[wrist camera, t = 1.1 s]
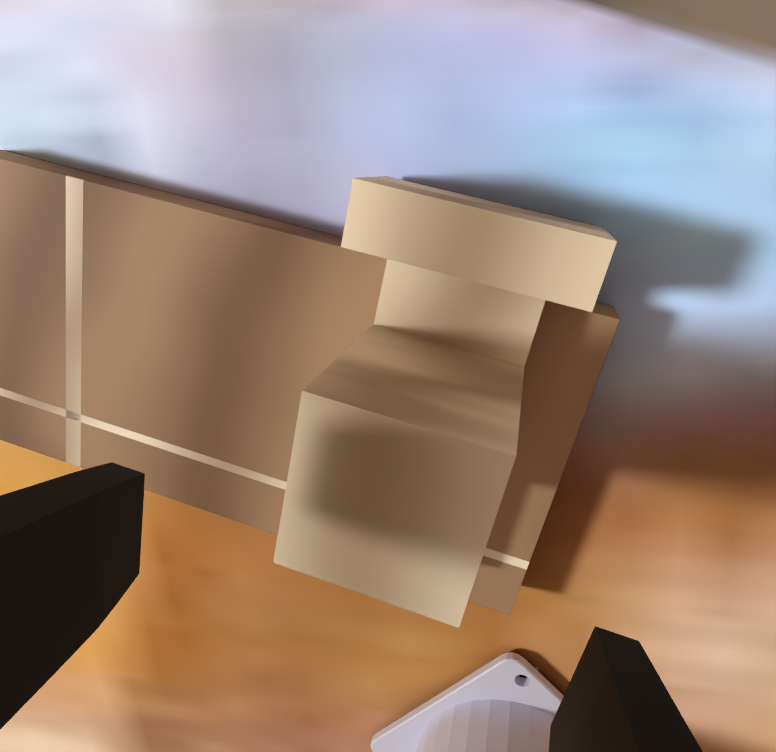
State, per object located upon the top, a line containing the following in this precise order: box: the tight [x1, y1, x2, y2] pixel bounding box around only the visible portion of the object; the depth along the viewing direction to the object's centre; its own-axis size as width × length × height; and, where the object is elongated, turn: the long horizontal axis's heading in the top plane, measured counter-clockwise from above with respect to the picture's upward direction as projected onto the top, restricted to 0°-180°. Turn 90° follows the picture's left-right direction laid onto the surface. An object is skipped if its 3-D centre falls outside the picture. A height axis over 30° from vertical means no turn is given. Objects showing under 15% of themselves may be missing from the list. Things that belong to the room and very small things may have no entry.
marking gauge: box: [273, 176, 617, 628], centre depth 15 cm, size 6×11×7 cm, turn 168°
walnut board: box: [0, 150, 620, 615], centre depth 19 cm, size 20×10×2 cm, turn 78°
